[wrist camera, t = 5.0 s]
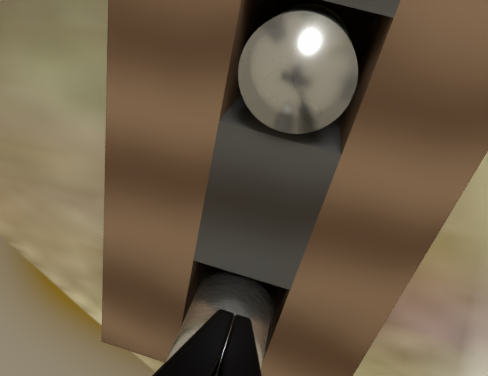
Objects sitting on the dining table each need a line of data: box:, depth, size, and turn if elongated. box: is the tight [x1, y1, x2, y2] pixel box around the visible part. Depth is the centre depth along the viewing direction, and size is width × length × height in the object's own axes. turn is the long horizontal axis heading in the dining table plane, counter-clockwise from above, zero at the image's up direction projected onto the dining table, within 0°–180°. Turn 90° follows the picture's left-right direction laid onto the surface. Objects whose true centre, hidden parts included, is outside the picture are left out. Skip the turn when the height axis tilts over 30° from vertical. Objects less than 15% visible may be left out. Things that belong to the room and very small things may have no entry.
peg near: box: [238, 4, 358, 134], centre depth 15 cm, size 4×4×5 cm
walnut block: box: [102, 0, 488, 376], centre depth 18 cm, size 24×14×5 cm, turn 168°
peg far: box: [167, 272, 272, 372], centre depth 17 cm, size 4×4×5 cm
